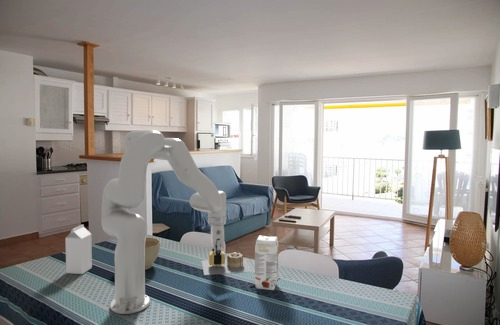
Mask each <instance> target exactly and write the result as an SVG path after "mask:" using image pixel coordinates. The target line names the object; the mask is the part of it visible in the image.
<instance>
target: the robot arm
mask: <svg viewBox="0 0 500 325" xmlns="http://www.w3.org/2000/svg"><path fill="white" fill-rule="evenodd" d="M123 144H124V147H125V149H126V150H125V151H124V153H123V155H122V157H121V160H120V163H119V171H118V178H116V177H114V178H113V179H111V180H109V181H108V182H107V183H106V185H105V187H104V189H103V192H102V201H101V202H102V203H101V221H100V222H101V228H102V229H103V232H105V234H106V235H108V236H110V237H113V238H116V239H117V242H116V243H117V244H116V246H115V250H114V257H113V258H114V292H115V293H114V299H112V301H111V302H110V306H109V308H110V310H111V311H112V313H116V314H119V315H128V314H129V315H130V314H134V313H138V312H141V311H143V310H144V309H146V308H148V306H149V305H150V304H151V299H150V296H148V295H147V294H146V270H145V240H146V237H147V234H148V224H147V221H146V220H145V218H144V217H143V216H142V215H140V214H139V213H136V212H132V211H129V209H131V210H133V209H138V208H140V207H141V206H142V205H143V203H144V201H145V197H146V184H147V183H146V180H147V170H148V165H149V163H150V162H151V160H152V159H155V160H161V161H163V160H164V161H167V162H168V164H169V166H170V167H171V169H172V171H173V173H174V174H175V175H176V177H177V179H178V181H179V182H181V183H182V184H184V186H187V187H188V188H190V189H192V190H193V191H194V192H195V193H193V194H192V195H191V196H190V198H189V205H190V207H191V208H193V210H196V211H199V212H204V213H208V214H207V215H208V216H207V222H208V223H207V224H208V225H209V226H210V241H211V246H212V249H211V252H212V251H214V253H215V255H214V265H217V264H222V254H221V251H222V249H225V226H224V225H227V224H226V223H227V221H226V220H227V194H226V192H225V191H223V190H218V188H217V187H216V184H215V183H214V182H213V181H212V180H211V179H210V178H209V177H208V176H207V175H206V174H204V173H203V172H202V171H201V170H200V169H199V168H198V165H197V163H196V161H195V160H194V158H193V156H192V154H191V153H190V151H189V149H188V147H187V145H186V143H185V142H184V141H183V140H182V139H179V138H175V137H165V136H164V134H163V133H162V132H160V131H158V130H153V129H144V130H143V129H141V130H140V129H139V130H138V129H137V130H131V131H130V132H128V133H127V134H126V135H125V137H124V140H123Z"/></svg>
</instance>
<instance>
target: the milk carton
mask: <svg viewBox="0 0 500 325" xmlns="http://www.w3.org/2000/svg"><path fill="white" fill-rule="evenodd" d="M64 244H65V273H66V274H77V275H83V274H85V273H86V272H88V271H89V270H91V269H92V268H93V257H92V256H93V255H92V254H93V252H92V245H93V244H92V233H91V232H90V231H89V230H88V229H87V228H86V227H85V225H84V224H80V225H78V226H76V227H74V228H72V230H70V233H69V234H68V235H67V236H66V237H65V243H64Z"/></svg>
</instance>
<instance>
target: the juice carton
mask: <svg viewBox="0 0 500 325" xmlns="http://www.w3.org/2000/svg"><path fill="white" fill-rule="evenodd" d="M278 240H279V238H278V236H265V235H261V234H260V235H258V237H257V239H256V240H255V246H254V283H255V284H254V285H255V288H256V289H258V290H268V291H274V290H275V289H276V285H277V282H278V278H279V241H278Z"/></svg>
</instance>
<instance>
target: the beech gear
mask: <svg viewBox="0 0 500 325" xmlns="http://www.w3.org/2000/svg"><path fill="white" fill-rule="evenodd" d="M236 253H237V257H234V252H231V253H227V256H226V259H227V266H229V267H230V268H239V267H242V265H243V258H244V254H242V253H241V252H236Z"/></svg>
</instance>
